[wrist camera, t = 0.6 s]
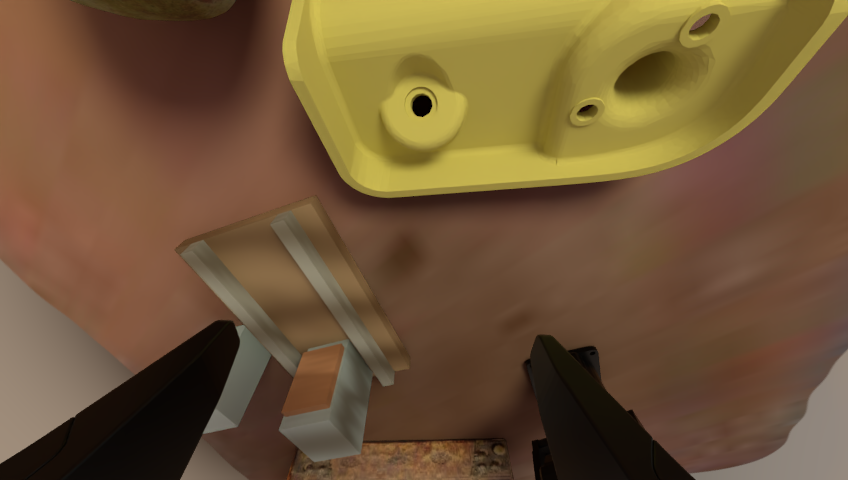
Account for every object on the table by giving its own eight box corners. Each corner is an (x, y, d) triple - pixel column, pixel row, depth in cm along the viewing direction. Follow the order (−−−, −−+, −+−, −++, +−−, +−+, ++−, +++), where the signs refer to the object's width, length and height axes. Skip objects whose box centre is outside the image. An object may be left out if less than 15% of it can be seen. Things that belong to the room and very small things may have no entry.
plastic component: (352, 200, 20) (262, 29, 12) (366, 119, 24) (304, -55, 16) (710, 174, 18) (924, -71, 9) (662, 87, 21) (782, -143, 13)
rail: (410, 357, 32) (406, 449, 25) (309, 380, 34) (279, 471, 27) (316, 195, 22) (267, 270, 16) (184, 240, 25) (90, 324, 18)
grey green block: (223, 364, 32) (179, 439, 27) (195, 337, 30) (140, 412, 25) (273, 351, 31) (237, 426, 26) (247, 323, 29) (202, 398, 23)
